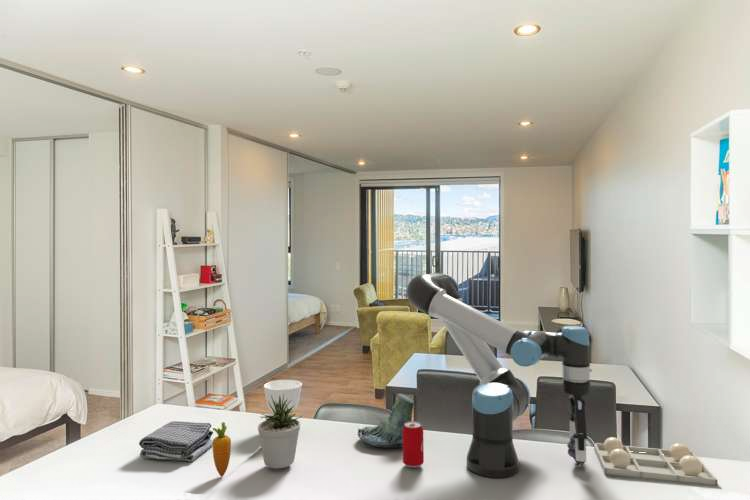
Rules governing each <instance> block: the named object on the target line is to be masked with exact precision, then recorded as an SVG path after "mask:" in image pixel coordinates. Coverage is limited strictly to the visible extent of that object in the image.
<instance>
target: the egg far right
mask: <svg viewBox="0 0 750 500" xmlns="http://www.w3.org/2000/svg"><path fill="white" fill-rule="evenodd" d="M668 450H669V452H670V455H671V457H672V458H673V459H674V460H675V461H677V462H680V459H681V458H682V457H683V456H686V455H691V454H690V452H691V451H690V449H689V448H688V446H687V445H686V444H683V443H679V442H675V443H672V445H670V447H669V449H668Z"/></svg>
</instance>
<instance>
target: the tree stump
mask: <svg viewBox="0 0 750 500" xmlns="http://www.w3.org/2000/svg"><path fill="white" fill-rule="evenodd" d="M396 397H397V398H396V399H395V403H394V405H393V406H392V407H391V408H392V410H391V412H390V414H389V416H387V417H386V418H385V419H384V420H382V421H381V423H379V424H378V425H375V426H365V427H362V428H358V429H357V436H358V438H359V439H360V440H361V441H362V442H365V443H366V444H369V445H371V446H374V447H378V448H389V449H390V448H392V449H397V448H402V447H401V446H403V427H404V424H405V423H406V422H409V421H413V420H412V418H413V411H414V405H415V402H414V400H412V399H411V398H410V397H409V396H407V395H405V394H403V393H397V396H396ZM396 447H397V448H396Z"/></svg>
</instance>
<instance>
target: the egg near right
mask: <svg viewBox="0 0 750 500" xmlns="http://www.w3.org/2000/svg"><path fill="white" fill-rule="evenodd" d="M697 458H698V457H697ZM697 458H696V457H694V456H691V455H686V456H683V457H682V458H681V459H680V462H679V465H680V468H681V470H682V471H683V472H684V473H685V474H687V475H689V476H697V475H699V474H700V473H701V471H702V465H701V462H702V461H701V460H700V459H699V458H698V459H699V460H700V461H701V462H700V461H699V460H698V459H697Z"/></svg>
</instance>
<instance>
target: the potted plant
mask: <svg viewBox="0 0 750 500" xmlns="http://www.w3.org/2000/svg"><path fill="white" fill-rule="evenodd" d="M271 397H272V395H271ZM272 400H273V398H272ZM283 400H284V393H283ZM283 400H282V408H281V397H280V396H279V403H278V402H276V403H275V402H274V400H273V404H274V407H275V410H276V412H275V411H274V409H273V408H272V406H271V405H270V403H269V405H270V407H271V408H272V410H273V412H274V413H273V412H272V413H273V415H271V414H270V415H268V414H264V413H261V415H262V416H261V417H260V420H261V419H263V418H264V419H265V420H263V421H261V422H259V424H258V425H257V431H258V434H259V439H260V445H261V446H260V447H261V452H262V459H263V463H264V465H265V467H268V468H270V469H283V468H287V467H290V466H291V465H292V464H294V462H295V458H296V453H297V452H296V451H297V445H298V439H299V433H300V432H299V431H300V428H301V422H300V421H299V420H298V419H301V418H302V417H303V416H304V414H303V415H300V416H299V417H296V418H293V417H294V416H296V414H297V413H294V411H292V412H290V411H291V410H292V408H293V407H294V406H293V407H292V408H290V409H288V407H287V405H288V404H289V403H290V401H289V403H288V404H287V405H286V404H285V403H286V401H287V400H288V399H287V400H286V401H285V402H284V404H283ZM275 401H276V400H275ZM268 402H269V401H268ZM285 405H286V406H285ZM284 406H285V408H284ZM286 407H287V411H285V410H286ZM288 415H289V416H288Z"/></svg>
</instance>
